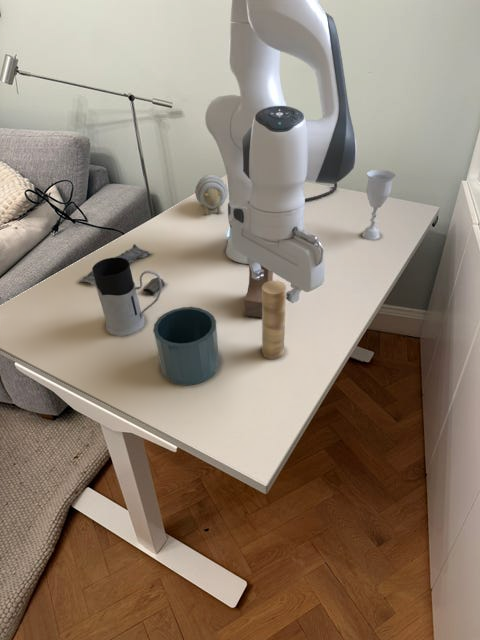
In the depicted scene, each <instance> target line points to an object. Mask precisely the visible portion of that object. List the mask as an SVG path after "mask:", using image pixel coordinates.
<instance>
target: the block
mask: <svg viewBox="0 0 480 640" xmlns="http://www.w3.org/2000/svg"><path fill="white" fill-rule="evenodd" d="M160 279H161V283H162V288H164V287H165V286H166V284H165V281H164V280H163V278H161V277H160ZM159 290H160V283H159V279H158V278H157V277H154V278H152V279H151V280H150V281H149V282H148V283H147V284H146V285H145V286H144V287H143V289H142V292H144V293H147V294H149V295H155V294H157V293H158V292H159Z"/></svg>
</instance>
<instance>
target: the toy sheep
mask: <svg viewBox="0 0 480 640" xmlns="http://www.w3.org/2000/svg"><path fill="white" fill-rule="evenodd" d="M194 192H195V198H196V200H197V202H198V203H199V205H200V206H202V207H203V209H204V214H205V215H209V213H210V211H209V210H215V209H216V212H217V214H221V213H222V206H223V205H224V203H225V202H226V200H227V198H228V196H229V191H228V185H227V183H226V182H225V181H224V180H223V179H222V178H221V177H220V176H218V175H215V174H207V175H204V176H202V177H201V178H200V180H198V182H197V184H196V186H195V190H194Z"/></svg>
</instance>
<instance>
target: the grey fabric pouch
mask: <svg viewBox="0 0 480 640" xmlns="http://www.w3.org/2000/svg"><path fill="white" fill-rule="evenodd" d="M148 256H151V253H150V252H149V251H146V250H144V249H141V248H139V246H138V245H137V244H136V243H134V244H132V247H131V248H129V249H128V250H125V251H124V252H122V253H121V254H119V255H117V256H116V257H119V258H124V259H126V260H128V262H129V264H130V263H132V262H134V261H135V260H136V259H137V258H146V257H148ZM82 282H85V283H89V284H92V285H95V278H94V274H93V271H92V270H91V271H89V273H88V274H87V275H86V276H83V277H82V279H80V280H79V283H82Z"/></svg>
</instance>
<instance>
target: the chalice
mask: <svg viewBox="0 0 480 640" xmlns="http://www.w3.org/2000/svg"><path fill="white" fill-rule="evenodd" d="M366 176H367V178H368V179H367V184H366V196H367V200H368V203H369V205H370V208H372V209H373V210H372V212H371V218H370V219H369V220H370V225H369V226H366V228H365V229H364V230H363V233H361V236H362V238H364V239H367V240H374V241H375V240H378V239H380V237H381V234H380V231H379V228H378V227H376V225H375V224H376V222H377V221H378V220H377V216H378V209H380V208H381V207H382V206H383V205H384V203H385V202H386V201H387V199H388V197H389V196H390V194H391V190H392V184H393V180H394V178H395V177H396V174H395V173H394V172H392V171H391V170H390V171H389V170H384V169H372V170H369V171H368V172H367V173H366Z"/></svg>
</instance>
